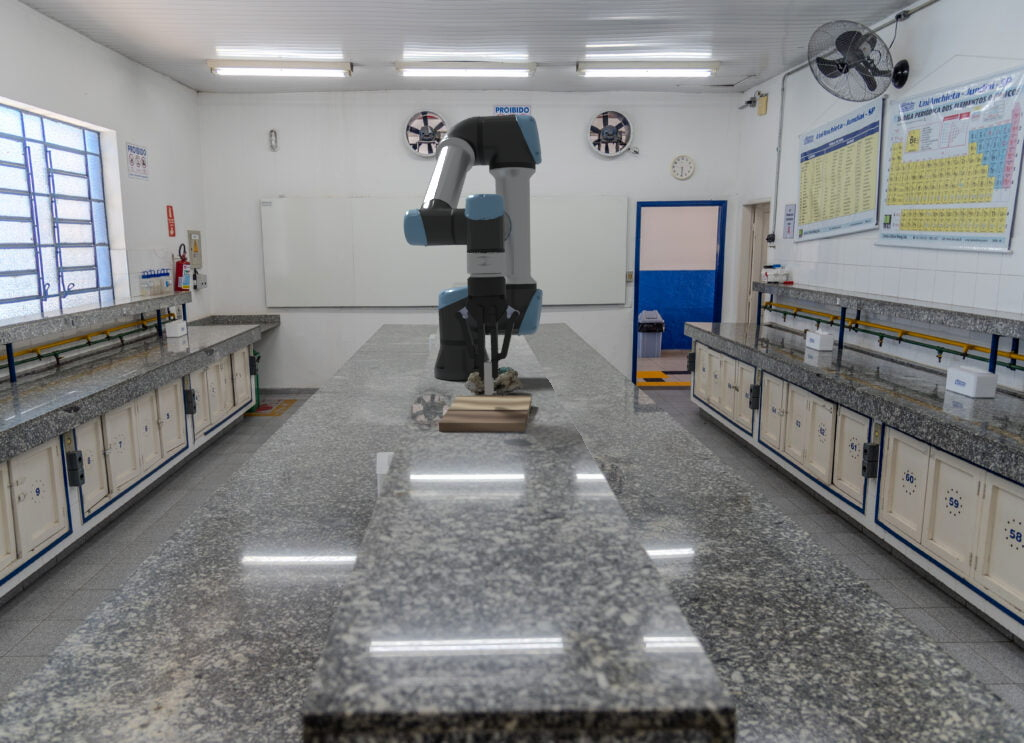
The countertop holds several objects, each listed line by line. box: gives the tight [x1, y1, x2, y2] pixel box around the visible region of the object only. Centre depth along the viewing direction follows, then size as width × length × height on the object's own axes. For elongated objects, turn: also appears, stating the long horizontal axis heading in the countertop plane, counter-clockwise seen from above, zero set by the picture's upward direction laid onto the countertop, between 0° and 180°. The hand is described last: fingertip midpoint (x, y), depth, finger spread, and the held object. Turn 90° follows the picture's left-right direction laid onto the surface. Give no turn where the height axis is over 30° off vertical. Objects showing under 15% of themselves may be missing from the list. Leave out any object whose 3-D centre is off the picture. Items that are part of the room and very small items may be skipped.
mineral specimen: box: [464, 366, 523, 396], centre depth 160 cm, size 12×9×8 cm
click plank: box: [448, 395, 533, 418], centre depth 145 cm, size 10×16×2 cm, turn 85°
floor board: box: [438, 409, 529, 432], centre depth 134 cm, size 10×16×2 cm, turn 85°
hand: (489, 393), depth 141 cm, fingers closed
